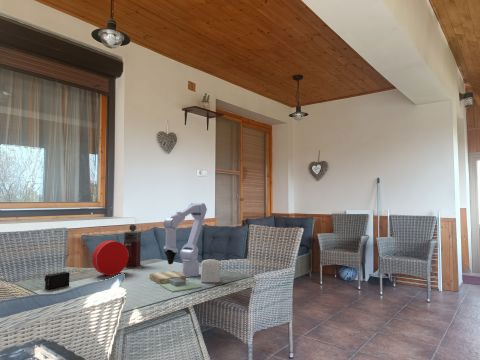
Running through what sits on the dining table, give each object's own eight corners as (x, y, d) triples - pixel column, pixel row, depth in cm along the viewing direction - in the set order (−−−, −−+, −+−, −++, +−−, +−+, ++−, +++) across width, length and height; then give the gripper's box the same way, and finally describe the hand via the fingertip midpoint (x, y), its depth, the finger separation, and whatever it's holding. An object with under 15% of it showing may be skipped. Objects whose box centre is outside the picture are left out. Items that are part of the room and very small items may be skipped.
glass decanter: (122, 267, 226) (123, 225, 228) (127, 264, 237) (128, 224, 239) (135, 267, 226) (136, 225, 228) (140, 264, 238) (141, 224, 239)
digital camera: (63, 284, 182) (63, 271, 183) (69, 285, 179) (69, 272, 180) (43, 288, 173) (44, 274, 174) (49, 290, 170) (50, 275, 171)
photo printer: (219, 281, 192) (219, 258, 192) (219, 282, 187) (219, 260, 188) (201, 281, 191) (201, 258, 192) (200, 283, 187) (201, 260, 187)
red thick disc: (123, 271, 215) (124, 239, 217) (128, 272, 211) (129, 240, 213) (91, 276, 201) (92, 241, 202) (95, 277, 197) (96, 242, 198)
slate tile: (178, 281, 188) (178, 277, 188) (185, 284, 180) (185, 280, 180) (168, 282, 184) (168, 279, 184) (175, 286, 177) (175, 282, 177)
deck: (174, 275, 204) (174, 270, 204) (185, 281, 191) (185, 275, 191) (149, 279, 195) (149, 273, 195) (160, 284, 182) (160, 279, 182)
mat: (187, 281, 190) (187, 280, 190) (201, 287, 177) (201, 286, 177) (159, 285, 181) (159, 284, 181) (172, 292, 168) (172, 291, 168)
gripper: (159, 238, 196) (158, 262, 195) (169, 241, 184) (169, 266, 183) (170, 237, 200) (170, 261, 199) (181, 240, 188) (181, 265, 188)
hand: (170, 263), depth 192 cm, fingers closed
